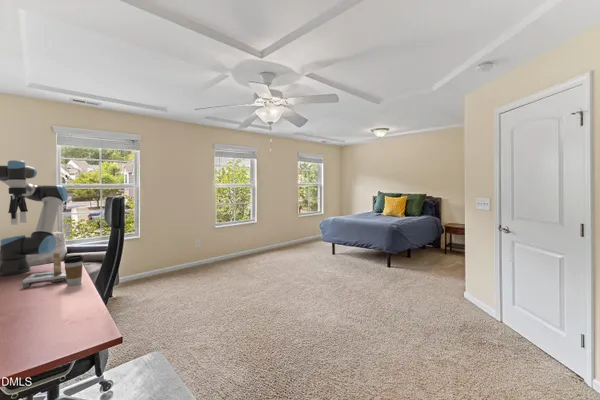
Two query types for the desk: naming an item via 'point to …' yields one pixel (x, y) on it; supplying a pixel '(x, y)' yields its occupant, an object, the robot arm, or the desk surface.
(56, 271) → the beech peg
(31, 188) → the robot arm
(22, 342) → the desk surface
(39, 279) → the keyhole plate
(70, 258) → the coffee cup
